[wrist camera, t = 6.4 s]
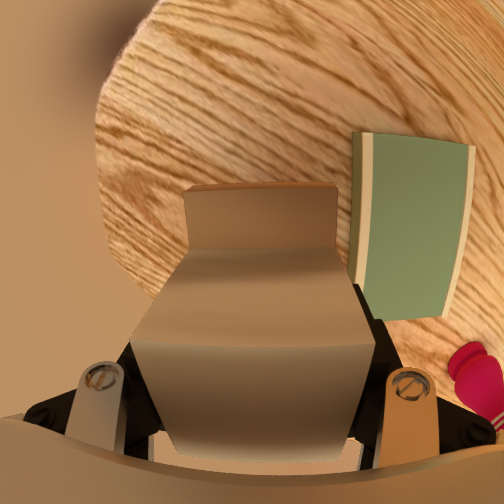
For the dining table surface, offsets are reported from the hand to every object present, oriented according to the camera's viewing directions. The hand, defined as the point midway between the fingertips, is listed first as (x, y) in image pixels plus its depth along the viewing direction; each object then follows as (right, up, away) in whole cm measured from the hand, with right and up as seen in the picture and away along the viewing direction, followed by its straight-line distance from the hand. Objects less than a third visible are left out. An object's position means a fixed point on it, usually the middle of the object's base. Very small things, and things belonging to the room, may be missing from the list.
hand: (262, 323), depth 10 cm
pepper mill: (+29, -12, +21) cm, 38 cm away
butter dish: (0, +1, +2) cm, 2 cm away
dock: (+14, +5, +15) cm, 21 cm away
